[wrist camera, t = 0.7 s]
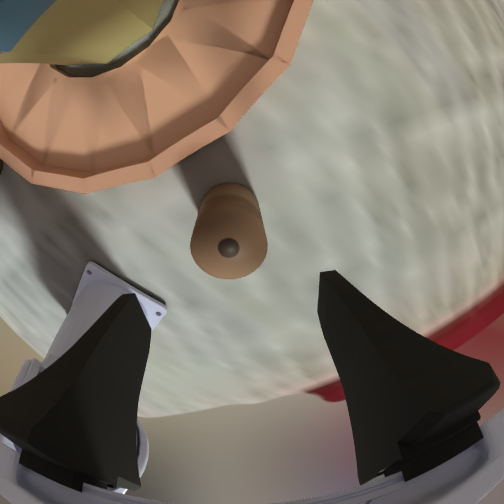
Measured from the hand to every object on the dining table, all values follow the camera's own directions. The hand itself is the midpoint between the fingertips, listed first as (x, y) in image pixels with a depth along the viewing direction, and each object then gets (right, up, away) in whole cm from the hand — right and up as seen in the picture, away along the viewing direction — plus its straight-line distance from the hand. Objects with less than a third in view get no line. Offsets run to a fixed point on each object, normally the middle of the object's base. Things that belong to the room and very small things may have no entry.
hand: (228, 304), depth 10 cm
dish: (-9, +18, 0) cm, 20 cm away
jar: (-9, +18, 0) cm, 20 cm away
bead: (-1, +5, +8) cm, 9 cm away
